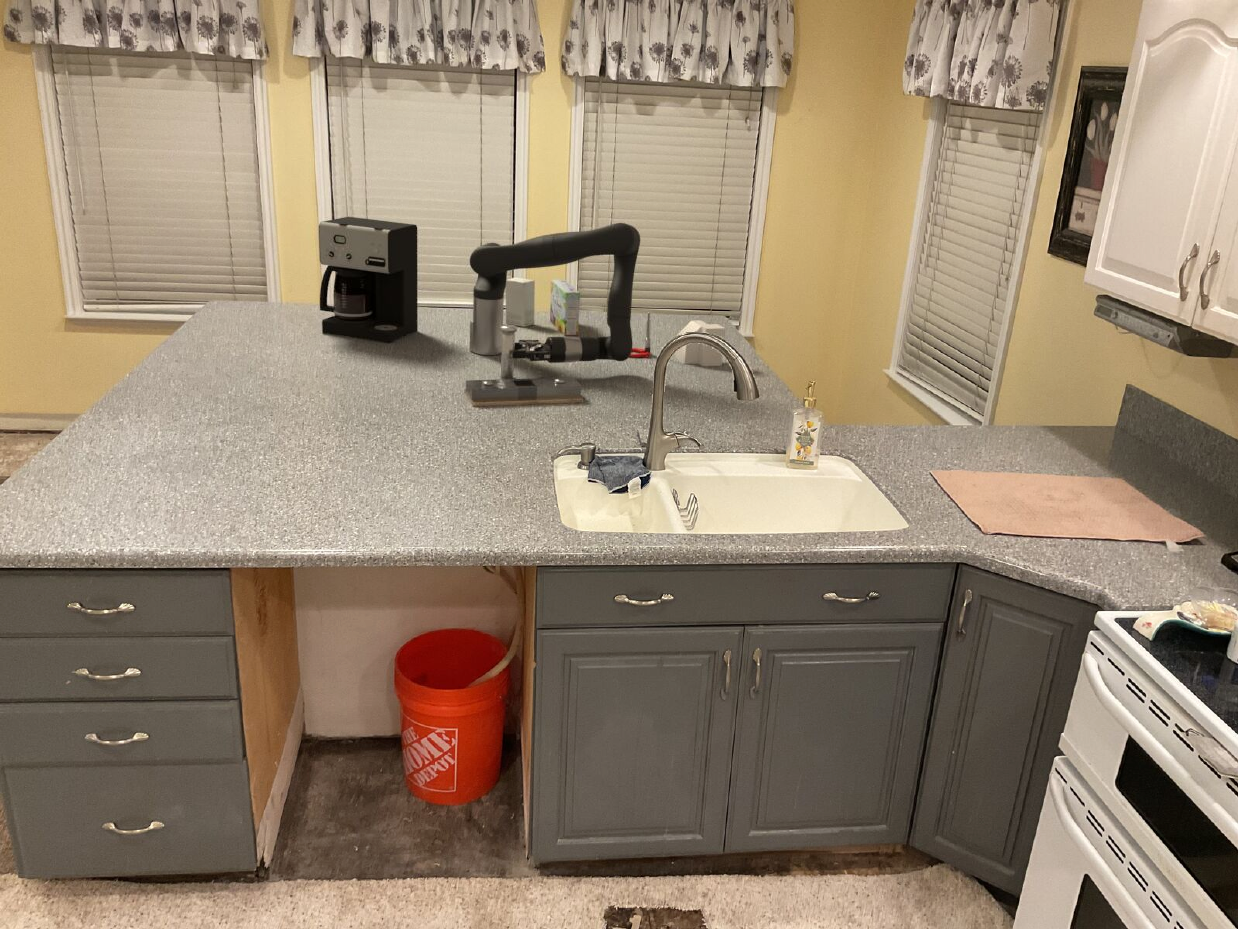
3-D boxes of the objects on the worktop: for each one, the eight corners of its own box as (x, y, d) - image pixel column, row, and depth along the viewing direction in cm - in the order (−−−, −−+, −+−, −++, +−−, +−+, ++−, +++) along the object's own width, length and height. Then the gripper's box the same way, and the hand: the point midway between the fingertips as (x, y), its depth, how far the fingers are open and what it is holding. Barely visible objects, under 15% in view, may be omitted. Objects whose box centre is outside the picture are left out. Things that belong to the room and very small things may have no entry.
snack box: (548, 321, 360) (550, 278, 354) (563, 321, 361) (565, 279, 356) (563, 336, 341) (565, 291, 336) (579, 336, 343) (581, 291, 337)
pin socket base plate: (473, 406, 264) (473, 389, 263) (464, 392, 275) (464, 376, 273) (582, 402, 274) (583, 385, 272) (570, 388, 285) (571, 373, 283)
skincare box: (534, 324, 353) (536, 280, 347) (523, 327, 348) (524, 282, 342) (515, 320, 357) (517, 276, 351) (503, 323, 352) (505, 278, 346)
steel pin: (495, 378, 289) (497, 327, 284) (503, 374, 293) (504, 323, 288) (510, 381, 288) (512, 329, 282) (518, 377, 292) (520, 326, 286)
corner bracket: (721, 365, 320) (725, 328, 316) (688, 366, 316) (692, 329, 311) (706, 356, 329) (710, 320, 325) (674, 357, 325) (678, 320, 321)
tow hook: (618, 358, 321) (649, 359, 321) (619, 315, 316) (651, 316, 316) (619, 351, 330) (650, 352, 329) (620, 308, 325) (651, 310, 324)
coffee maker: (309, 331, 323) (305, 220, 310) (342, 319, 340) (339, 213, 328) (388, 343, 316) (387, 230, 303) (418, 331, 333) (417, 223, 321)
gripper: (557, 330, 298) (503, 331, 293) (571, 343, 286) (515, 344, 280) (556, 355, 301) (502, 356, 295) (570, 368, 288) (514, 370, 283)
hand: (509, 350), depth 288 cm, fingers open, 8 cm apart
